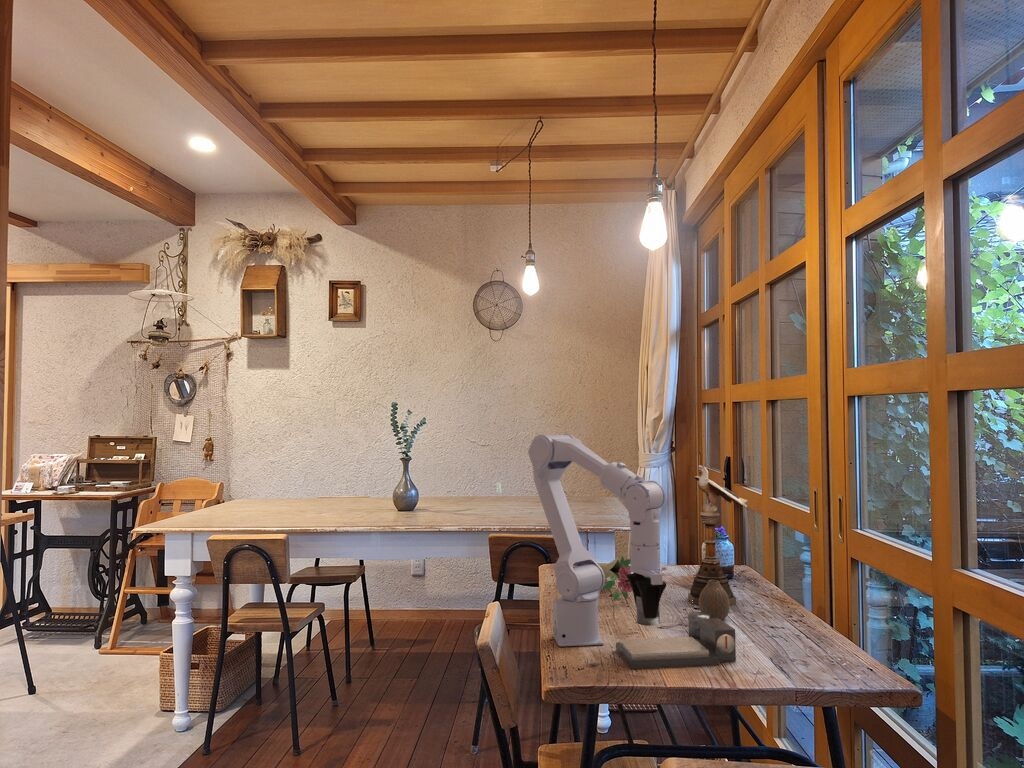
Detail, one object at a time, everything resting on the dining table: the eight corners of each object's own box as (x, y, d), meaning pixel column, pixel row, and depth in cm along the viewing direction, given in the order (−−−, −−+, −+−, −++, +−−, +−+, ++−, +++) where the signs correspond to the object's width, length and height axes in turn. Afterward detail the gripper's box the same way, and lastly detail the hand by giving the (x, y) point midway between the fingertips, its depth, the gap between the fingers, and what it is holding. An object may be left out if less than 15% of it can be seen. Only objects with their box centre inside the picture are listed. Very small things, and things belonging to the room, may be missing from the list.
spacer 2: (693, 642, 150) (692, 617, 150) (685, 636, 155) (685, 612, 155) (713, 641, 151) (712, 617, 151) (705, 635, 155) (704, 611, 155)
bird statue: (744, 594, 191) (741, 461, 193) (761, 607, 178) (757, 464, 179) (681, 594, 191) (679, 462, 193) (694, 607, 178) (691, 465, 180)
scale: (630, 669, 134) (630, 636, 134) (615, 650, 145) (615, 620, 145) (739, 664, 136) (738, 631, 137) (716, 646, 147) (715, 616, 148)
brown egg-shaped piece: (709, 624, 163) (708, 585, 164) (693, 616, 170) (692, 578, 170) (736, 621, 165) (735, 582, 166) (719, 614, 172) (718, 576, 172)
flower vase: (614, 606, 208) (653, 609, 175) (573, 595, 208) (605, 595, 174) (623, 566, 212) (662, 561, 179) (583, 554, 211) (616, 547, 178)
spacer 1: (641, 626, 138) (641, 599, 138) (633, 620, 142) (632, 594, 142) (663, 624, 139) (662, 598, 139) (654, 618, 143) (653, 593, 143)
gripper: (677, 549, 135) (679, 623, 134) (653, 537, 149) (654, 604, 148) (640, 550, 134) (642, 625, 133) (620, 538, 148) (621, 605, 147)
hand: (646, 614), depth 141 cm, fingers closed on spacer 1, 4 cm apart
